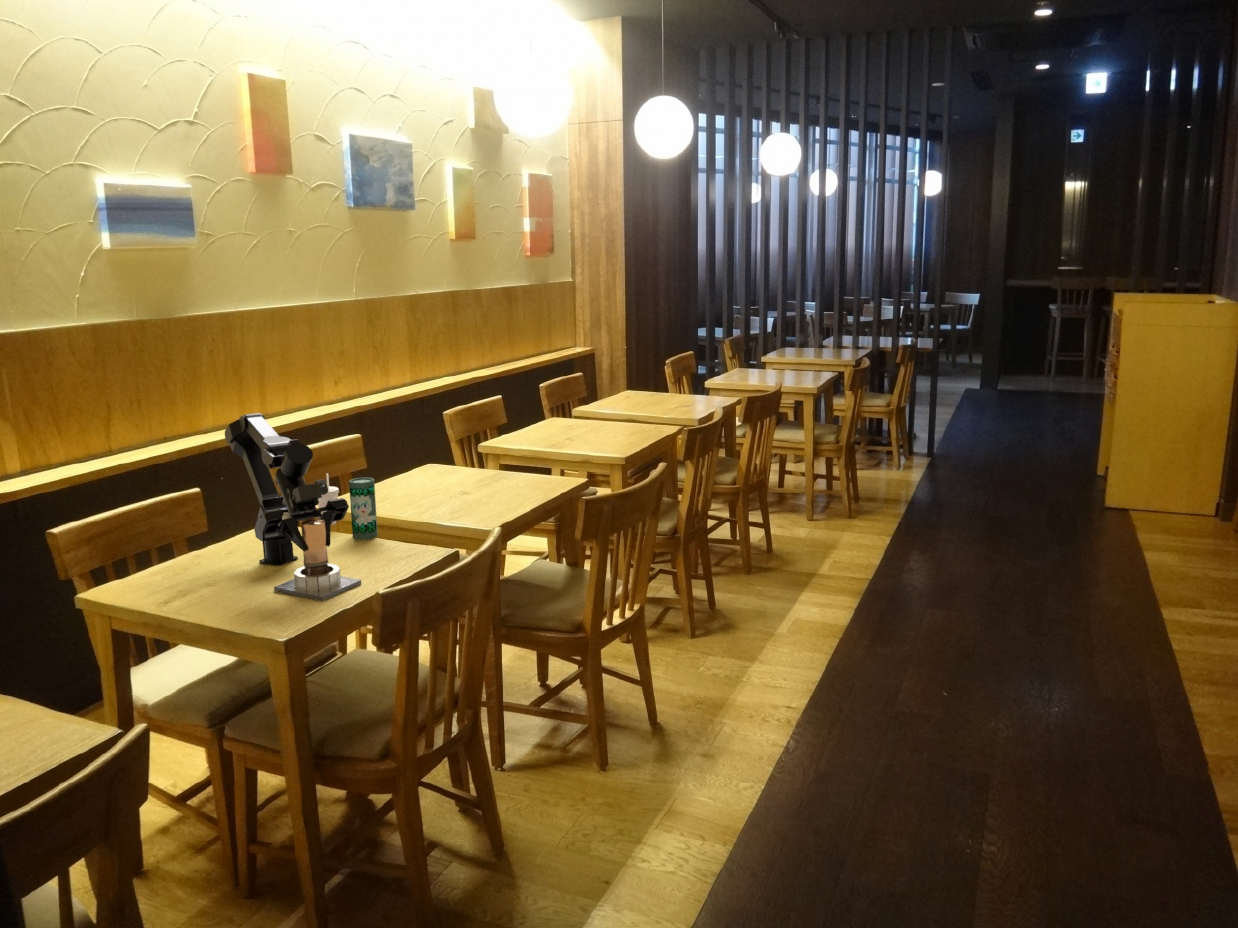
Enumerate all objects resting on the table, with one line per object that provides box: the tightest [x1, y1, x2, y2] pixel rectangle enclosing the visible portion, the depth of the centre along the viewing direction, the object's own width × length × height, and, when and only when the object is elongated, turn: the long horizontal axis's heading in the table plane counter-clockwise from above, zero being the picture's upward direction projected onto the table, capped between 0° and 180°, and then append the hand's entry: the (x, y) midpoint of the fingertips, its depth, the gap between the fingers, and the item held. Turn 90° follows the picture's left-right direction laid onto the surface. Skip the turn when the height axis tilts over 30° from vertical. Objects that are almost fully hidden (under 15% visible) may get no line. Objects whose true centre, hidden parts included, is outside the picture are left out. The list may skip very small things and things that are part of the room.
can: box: [348, 477, 378, 541], centre depth 252 cm, size 6×6×15 cm
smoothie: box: [317, 472, 340, 526], centre depth 264 cm, size 6×6×14 cm
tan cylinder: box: [300, 519, 329, 576], centre depth 214 cm, size 5×5×12 cm
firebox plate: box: [273, 563, 362, 602], centre depth 216 cm, size 14×12×4 cm
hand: (317, 548), depth 213 cm, fingers closed on tan cylinder, 5 cm apart
